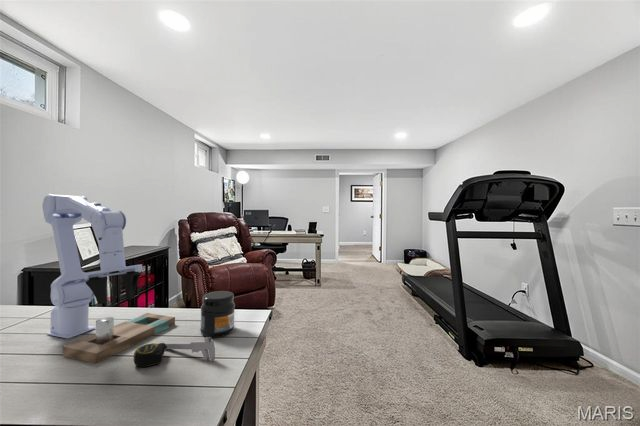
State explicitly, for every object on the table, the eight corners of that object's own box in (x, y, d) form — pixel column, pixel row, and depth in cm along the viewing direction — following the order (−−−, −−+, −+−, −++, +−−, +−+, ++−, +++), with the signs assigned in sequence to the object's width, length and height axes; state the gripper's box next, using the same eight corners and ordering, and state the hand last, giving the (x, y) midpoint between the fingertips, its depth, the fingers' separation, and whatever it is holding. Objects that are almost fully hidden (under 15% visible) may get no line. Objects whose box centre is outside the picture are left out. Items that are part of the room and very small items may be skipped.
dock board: (62, 355, 74) (62, 346, 74) (147, 320, 99) (147, 312, 99) (96, 363, 71) (96, 353, 71) (174, 324, 96) (175, 317, 96)
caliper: (215, 361, 74) (215, 337, 74) (212, 363, 73) (212, 339, 73) (157, 346, 81) (158, 324, 81) (154, 348, 80) (154, 325, 80)
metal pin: (91, 350, 78) (92, 321, 78) (106, 343, 82) (106, 316, 81) (102, 352, 77) (103, 323, 77) (116, 345, 80) (117, 318, 80)
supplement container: (239, 333, 91) (240, 296, 91) (205, 341, 84) (206, 302, 84) (228, 322, 99) (228, 288, 99) (196, 329, 93) (197, 293, 93)
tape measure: (160, 367, 70) (161, 352, 70) (129, 371, 68) (129, 356, 68) (166, 354, 77) (167, 340, 77) (138, 357, 75) (138, 343, 75)
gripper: (73, 257, 75) (77, 309, 74) (130, 249, 76) (134, 300, 75) (93, 256, 82) (97, 303, 81) (144, 248, 83) (149, 294, 82)
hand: (116, 301), depth 78 cm, fingers open, 7 cm apart
